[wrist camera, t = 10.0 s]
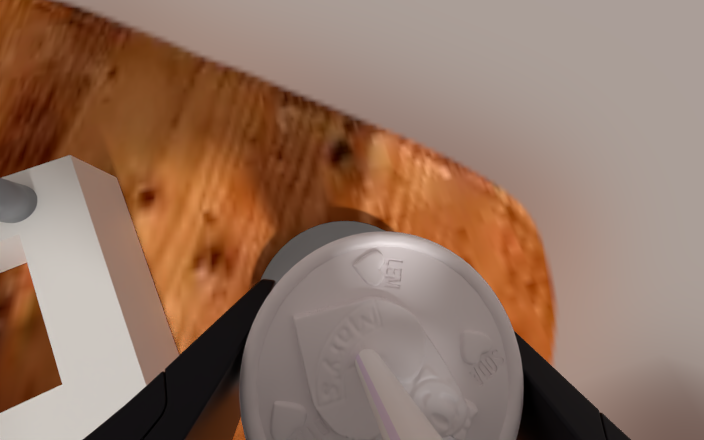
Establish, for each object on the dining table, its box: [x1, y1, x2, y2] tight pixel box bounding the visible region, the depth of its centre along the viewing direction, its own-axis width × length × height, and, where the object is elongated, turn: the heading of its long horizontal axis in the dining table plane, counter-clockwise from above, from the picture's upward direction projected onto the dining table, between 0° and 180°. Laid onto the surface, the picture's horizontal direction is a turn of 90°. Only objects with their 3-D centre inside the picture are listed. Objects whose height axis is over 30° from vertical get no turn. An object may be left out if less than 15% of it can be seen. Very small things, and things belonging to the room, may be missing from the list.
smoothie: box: [239, 232, 524, 440], centre depth 9 cm, size 6×6×14 cm
